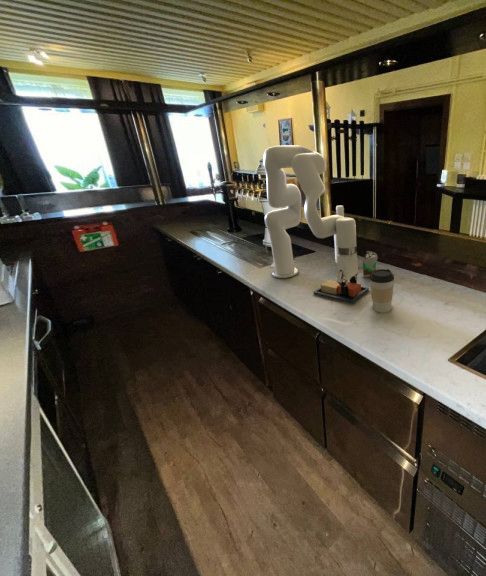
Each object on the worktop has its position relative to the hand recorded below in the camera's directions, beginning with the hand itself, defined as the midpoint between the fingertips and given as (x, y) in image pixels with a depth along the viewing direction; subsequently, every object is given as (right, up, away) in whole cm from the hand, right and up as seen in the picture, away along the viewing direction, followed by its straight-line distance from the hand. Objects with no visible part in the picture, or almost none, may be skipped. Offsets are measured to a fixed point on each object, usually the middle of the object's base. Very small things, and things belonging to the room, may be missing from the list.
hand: (349, 291), depth 126 cm
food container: (+11, +8, +20) cm, 24 cm away
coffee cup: (+13, -7, -10) cm, 18 cm away
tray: (-3, -1, +3) cm, 5 cm away
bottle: (-4, +15, +38) cm, 41 cm away
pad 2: (0, 0, 0) cm, 1 cm away
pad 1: (-7, 0, +5) cm, 9 cm away
